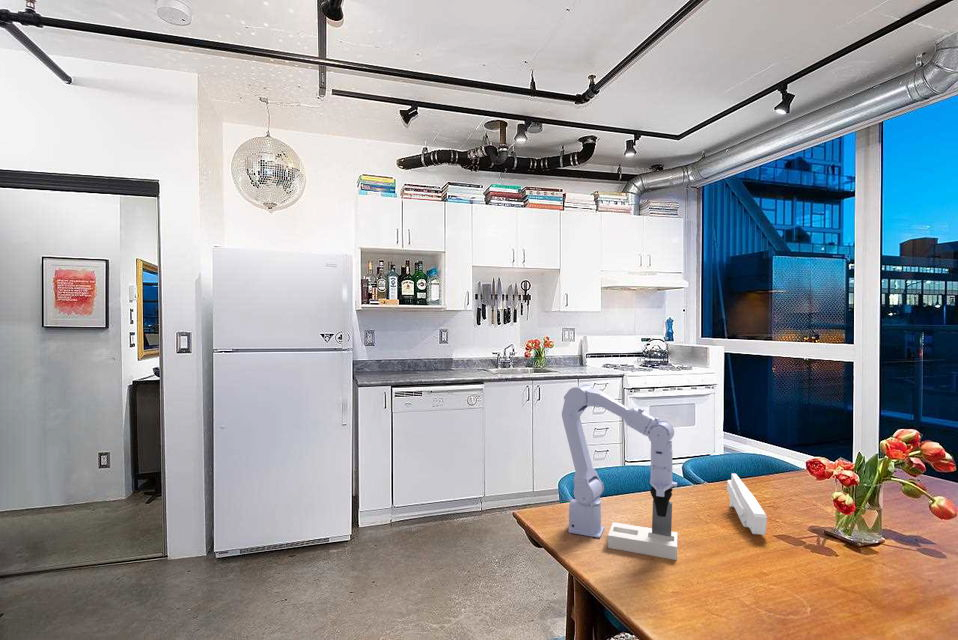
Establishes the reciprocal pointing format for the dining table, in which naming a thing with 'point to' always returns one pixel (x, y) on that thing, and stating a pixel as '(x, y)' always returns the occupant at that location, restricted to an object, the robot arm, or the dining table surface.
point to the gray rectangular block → (662, 521)
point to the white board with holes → (642, 541)
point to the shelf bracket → (746, 506)
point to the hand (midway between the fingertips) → (661, 514)
